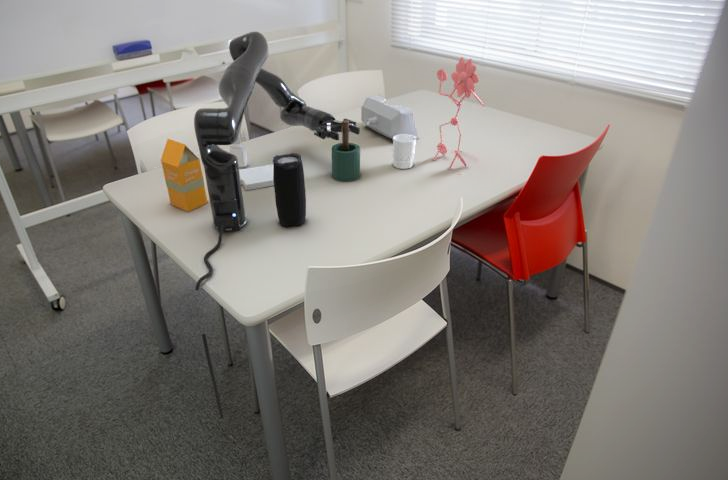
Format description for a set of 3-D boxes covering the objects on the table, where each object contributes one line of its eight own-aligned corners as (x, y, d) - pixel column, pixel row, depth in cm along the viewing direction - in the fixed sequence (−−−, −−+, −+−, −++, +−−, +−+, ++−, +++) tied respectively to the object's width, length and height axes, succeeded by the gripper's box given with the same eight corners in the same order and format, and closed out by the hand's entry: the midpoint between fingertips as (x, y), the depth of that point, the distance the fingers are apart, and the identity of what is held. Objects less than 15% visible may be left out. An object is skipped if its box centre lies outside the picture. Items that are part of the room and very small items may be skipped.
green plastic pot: (361, 180, 170) (361, 152, 165) (333, 182, 170) (332, 153, 164) (357, 169, 178) (358, 141, 173) (331, 170, 178) (330, 143, 172)
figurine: (462, 178, 170) (476, 69, 150) (419, 153, 189) (426, 53, 170) (498, 169, 175) (516, 63, 156) (453, 145, 195) (464, 48, 175)
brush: (351, 175, 172) (351, 122, 162) (341, 175, 172) (340, 123, 162) (350, 170, 175) (350, 119, 165) (340, 171, 175) (339, 119, 165)
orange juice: (190, 195, 164) (178, 134, 153) (208, 202, 159) (196, 140, 148) (170, 204, 159) (156, 142, 148) (187, 212, 154) (174, 149, 143)
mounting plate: (281, 167, 181) (280, 162, 179) (291, 182, 170) (291, 176, 169) (230, 176, 175) (230, 171, 174) (239, 191, 165) (238, 186, 164)
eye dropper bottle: (237, 169, 180) (233, 136, 173) (230, 164, 184) (226, 132, 177) (248, 166, 182) (244, 133, 176) (241, 161, 186) (237, 129, 179)
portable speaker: (302, 212, 153) (298, 149, 142) (310, 226, 145) (307, 162, 134) (274, 216, 151) (268, 153, 140) (281, 231, 143) (275, 166, 132)
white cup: (388, 167, 179) (389, 140, 173) (396, 159, 185) (398, 132, 179) (409, 171, 176) (411, 143, 170) (417, 163, 182) (419, 136, 176)
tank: (351, 128, 213) (351, 98, 206) (383, 122, 220) (384, 92, 213) (385, 147, 195) (386, 114, 188) (418, 139, 202) (420, 107, 195)
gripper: (301, 115, 170) (330, 127, 159) (335, 106, 177) (365, 118, 166) (303, 137, 174) (331, 150, 163) (336, 128, 181) (365, 140, 170)
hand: (348, 134), depth 165 cm, fingers open, 8 cm apart
